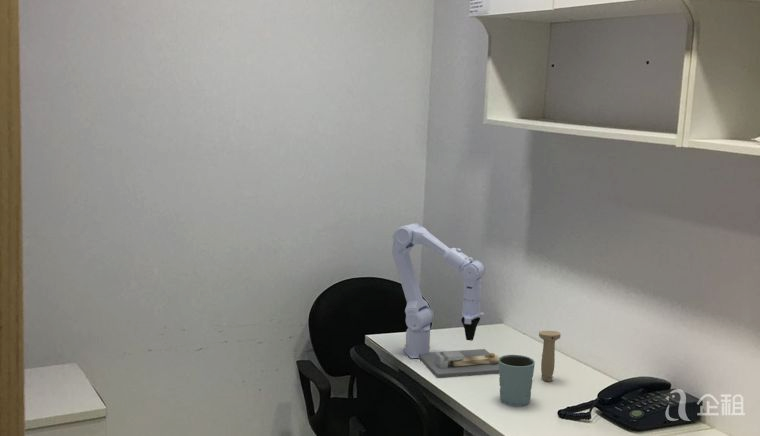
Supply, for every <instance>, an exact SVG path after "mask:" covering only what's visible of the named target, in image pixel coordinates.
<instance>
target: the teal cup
mask: <svg viewBox="0 0 760 436" xmlns="http://www.w3.org/2000/svg"><path fill="white" fill-rule="evenodd" d="M498 363H499V374H498V376H499V400H500V401H501V403H503V404H504V405H509V406H513V407H524V406H527V405H529V404H530V402H531V396H532V388H533V377H534V371H535V363H536V362H535V360H534V359H533V358H531V357H529V356H527V355H526V356H525V355H521V354H505V355H501V356H499V360H498Z"/></svg>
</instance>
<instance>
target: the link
mask: <svg viewBox="0 0 760 436" xmlns="http://www.w3.org/2000/svg"><path fill="white" fill-rule="evenodd" d="M489 353H490V352H489ZM499 358H500V356H499V355H498V354H495V353H493V352H491V353H490V354H488V355H485V356H474V357H465V358H464V360H454V361H450V364H451V365H452V366H454V367H456V366H467V365H479V364H497V363H498V360H499Z"/></svg>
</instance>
